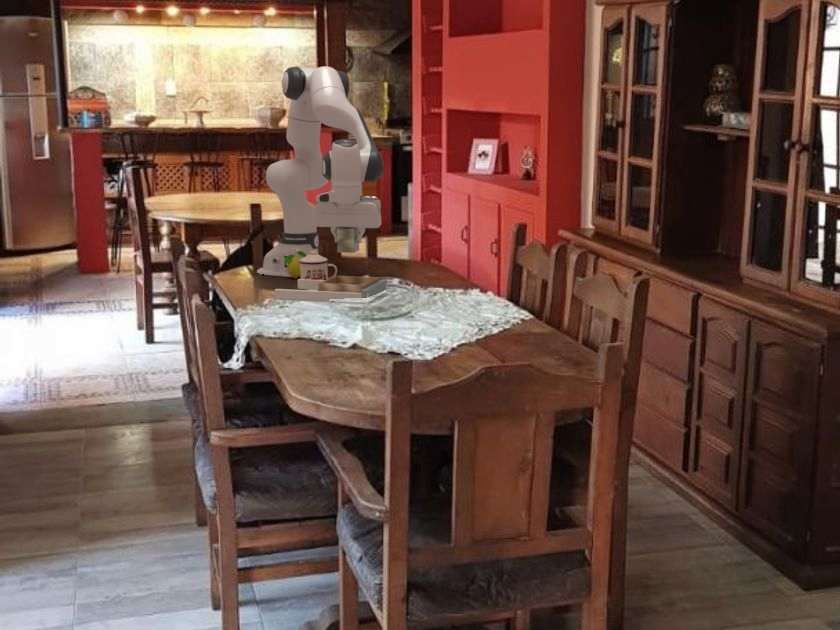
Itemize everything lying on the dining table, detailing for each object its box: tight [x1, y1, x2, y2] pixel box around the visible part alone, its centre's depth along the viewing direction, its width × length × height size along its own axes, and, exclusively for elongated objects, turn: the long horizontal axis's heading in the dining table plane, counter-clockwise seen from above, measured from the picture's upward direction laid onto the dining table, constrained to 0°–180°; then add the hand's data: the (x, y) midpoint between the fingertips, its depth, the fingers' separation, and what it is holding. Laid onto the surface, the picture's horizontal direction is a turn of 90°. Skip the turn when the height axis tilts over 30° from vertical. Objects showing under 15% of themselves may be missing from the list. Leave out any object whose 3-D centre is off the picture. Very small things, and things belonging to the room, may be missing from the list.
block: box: [336, 227, 360, 254], centre depth 319 cm, size 5×5×7 cm
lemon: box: [284, 249, 306, 280], centre depth 359 cm, size 7×6×10 cm
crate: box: [317, 275, 380, 293], centre depth 322 cm, size 14×14×5 cm
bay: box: [274, 278, 389, 303], centre depth 324 cm, size 29×19×5 cm, turn 73°
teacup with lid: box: [299, 251, 338, 280], centre depth 343 cm, size 12×9×12 cm
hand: (348, 242), depth 319 cm, fingers closed on block, 5 cm apart
